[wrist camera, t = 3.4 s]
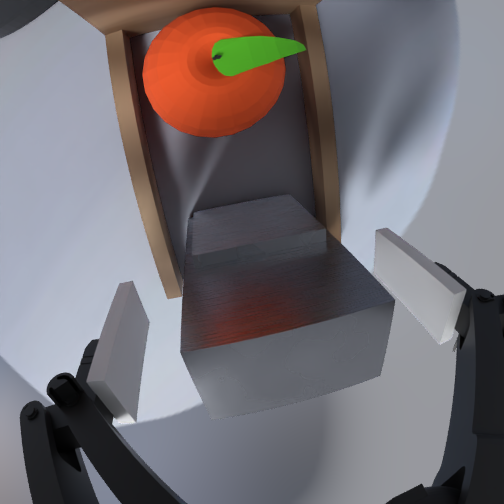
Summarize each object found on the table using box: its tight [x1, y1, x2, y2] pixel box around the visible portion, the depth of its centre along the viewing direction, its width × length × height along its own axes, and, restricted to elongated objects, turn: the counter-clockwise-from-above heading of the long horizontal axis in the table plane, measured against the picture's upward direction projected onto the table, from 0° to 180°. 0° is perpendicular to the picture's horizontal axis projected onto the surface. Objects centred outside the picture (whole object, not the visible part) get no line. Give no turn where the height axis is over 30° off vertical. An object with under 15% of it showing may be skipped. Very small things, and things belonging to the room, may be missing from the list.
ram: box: [180, 194, 395, 420], centre depth 15 cm, size 5×7×12 cm, turn 99°
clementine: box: [142, 7, 306, 138], centre depth 12 cm, size 8×7×7 cm
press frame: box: [59, 0, 341, 299], centre depth 13 cm, size 19×12×9 cm, turn 9°
